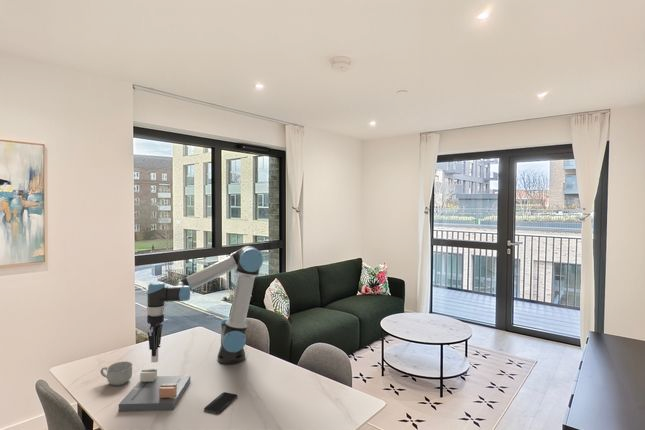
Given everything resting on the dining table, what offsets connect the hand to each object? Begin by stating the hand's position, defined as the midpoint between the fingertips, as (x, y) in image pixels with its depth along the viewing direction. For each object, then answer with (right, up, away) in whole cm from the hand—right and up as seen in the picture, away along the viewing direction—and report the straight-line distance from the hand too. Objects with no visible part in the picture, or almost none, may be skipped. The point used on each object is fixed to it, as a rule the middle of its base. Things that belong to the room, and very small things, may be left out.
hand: (154, 361), depth 175 cm
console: (+8, -9, -15) cm, 19 cm away
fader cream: (+1, -5, -8) cm, 9 cm away
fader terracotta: (+16, -6, -21) cm, 27 cm away
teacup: (-17, -9, -4) cm, 19 cm away
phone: (+39, -10, -21) cm, 45 cm away
